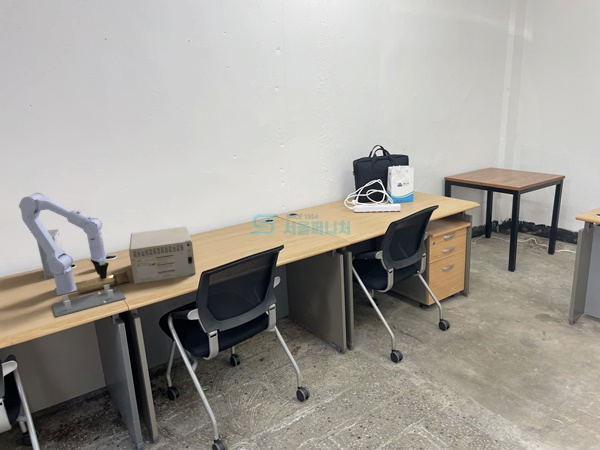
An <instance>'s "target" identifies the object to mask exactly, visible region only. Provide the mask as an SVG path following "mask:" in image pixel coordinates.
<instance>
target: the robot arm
mask: <svg viewBox="0 0 600 450" xmlns="http://www.w3.org/2000/svg"><path fill="white" fill-rule="evenodd" d="M18 209H20V212H21V219H22V221H23V223H24V224H25V225H26V227H27V228H28V230H29V231H30V233H31V234H32V235H33V237H34V238H35V240H36V242H37V241H38V243H39V244H40V246H41V247H42V249H43V250H44V252H45V253H46V254H47V263H48V265H49V269H50V271H51V272H52V273H53V274H54V277H53V279H54V284H55V287H54V291H55V293H56V296H63V295H67V294H69V293H74V292H77V290H76V285H75V280H74V279H75V278H74V274H73V269H72V266H73V262H74V260H73V258H72V256H71V255H69V254H68V253H67V251H66V250H64V249H63V248H62V249H63V250H62V249H60V248H59V247H58V246H57V244H56V243H55V241H54V240H53V238H52V237H51V235H50V234H49V232H48V231H47V228H46V227H45V225H44V224H43V222H42V220H41V219H40V218H39V216H40V213H41V211H46V210H47V211H50V212H52V213H55V214H57V215H60V216H61V217H65V219H66V220H67V222H68V223H70V224H72V225H74V226H76V227H78V228H80V229H82V230H83V232H84V233H85V234H86V235H87V236H86V237H87V243H88V246H89V247H88V248H89V254H90V262H91V263H92V265H93V267H94V270H95V269H96V270H95V271H96V273H97V275H98V276H99V277H100V278H101V279H105V278H106V277H107V275H108V274H107V273H108V267H109V261H108V262H106V263H105V262H104V260H106V258H107V257H109V254H108V253H106V249H105V245H104V240H103V233H102V230H101V229H102V228H103V223H102V221H101V220H100V219H99V218H97V217H92V216H90V215H89V216H88V215H86V214H84V213H82V211H81V210H77V209H76V210H75V209H74V210H70V209H68V208H67V207H65V206H64V205H62V204H60V203H58V202H57V201H55V200H54V199H51V198H50V197H49V196H48V195H44V194H43V193H41V192H34V193H32V194H30V195H28V196H24V197H23V198H21V199H20V202H19V204H18Z"/></svg>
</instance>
